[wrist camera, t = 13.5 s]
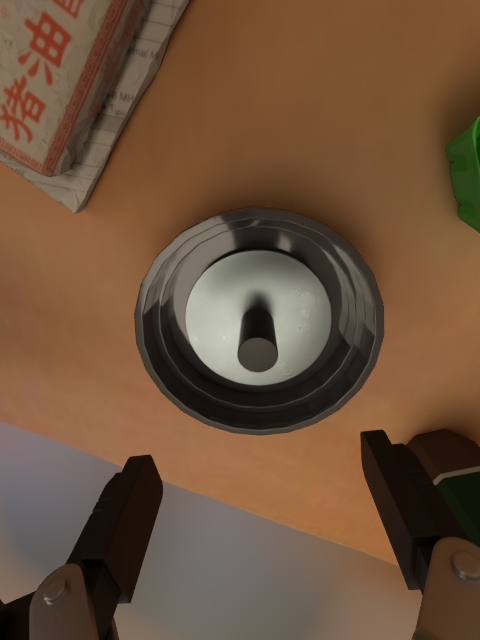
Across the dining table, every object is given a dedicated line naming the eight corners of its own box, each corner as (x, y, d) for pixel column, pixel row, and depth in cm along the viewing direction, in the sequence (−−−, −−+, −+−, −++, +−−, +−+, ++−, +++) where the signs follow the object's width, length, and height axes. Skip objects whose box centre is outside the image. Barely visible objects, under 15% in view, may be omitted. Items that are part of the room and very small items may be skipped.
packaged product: (-24, -412, 10) (214, -151, 12) (61, -226, 15) (225, -57, 17) (-129, 101, 16) (42, 219, 18) (-45, 122, 21) (84, 215, 22)
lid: (170, 262, 23) (143, 283, 17) (322, 233, 22) (345, 247, 16) (205, 386, 27) (192, 435, 22) (334, 369, 26) (355, 416, 20)
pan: (126, 230, 23) (98, 238, 19) (357, 184, 21) (382, 180, 17) (184, 410, 29) (172, 445, 25) (365, 387, 27) (385, 422, 23)
